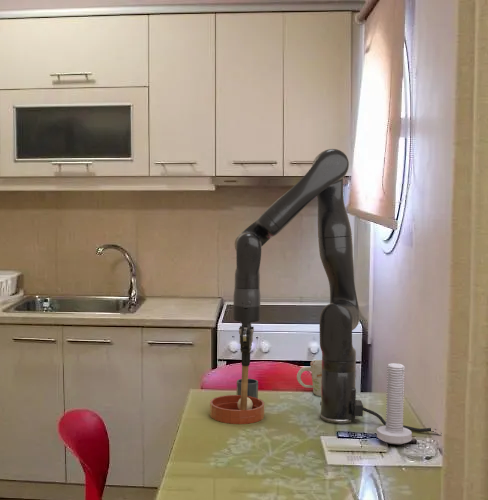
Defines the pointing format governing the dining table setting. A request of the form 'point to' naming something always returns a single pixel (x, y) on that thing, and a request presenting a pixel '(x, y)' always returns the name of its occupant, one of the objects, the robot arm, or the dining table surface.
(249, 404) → the dough ball
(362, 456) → the dining table surface
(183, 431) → the dining table surface
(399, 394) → the screw
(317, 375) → the mug
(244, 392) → the stick
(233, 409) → the bowl
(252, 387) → the tube
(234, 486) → the dining table surface
